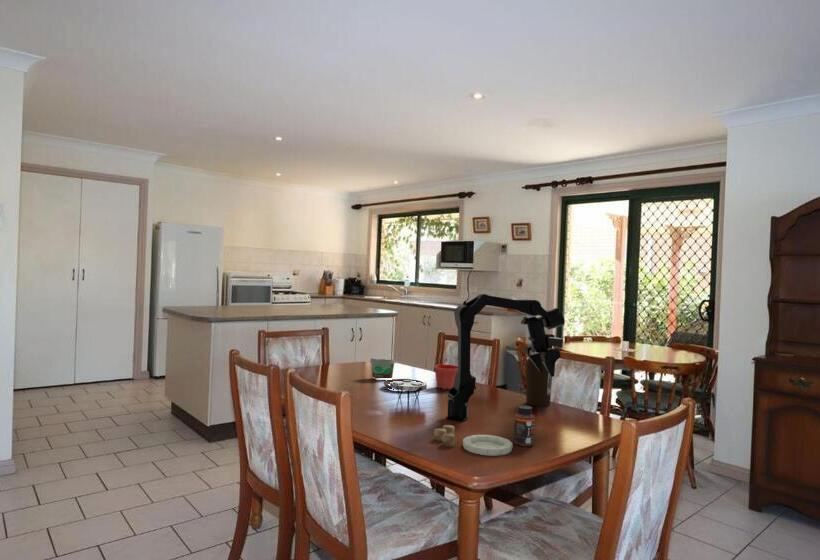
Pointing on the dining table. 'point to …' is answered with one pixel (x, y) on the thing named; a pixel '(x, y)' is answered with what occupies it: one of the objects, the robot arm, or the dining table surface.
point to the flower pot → (446, 375)
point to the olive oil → (537, 385)
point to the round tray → (487, 445)
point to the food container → (382, 368)
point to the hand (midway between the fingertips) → (547, 374)
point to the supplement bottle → (524, 426)
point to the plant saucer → (396, 380)
